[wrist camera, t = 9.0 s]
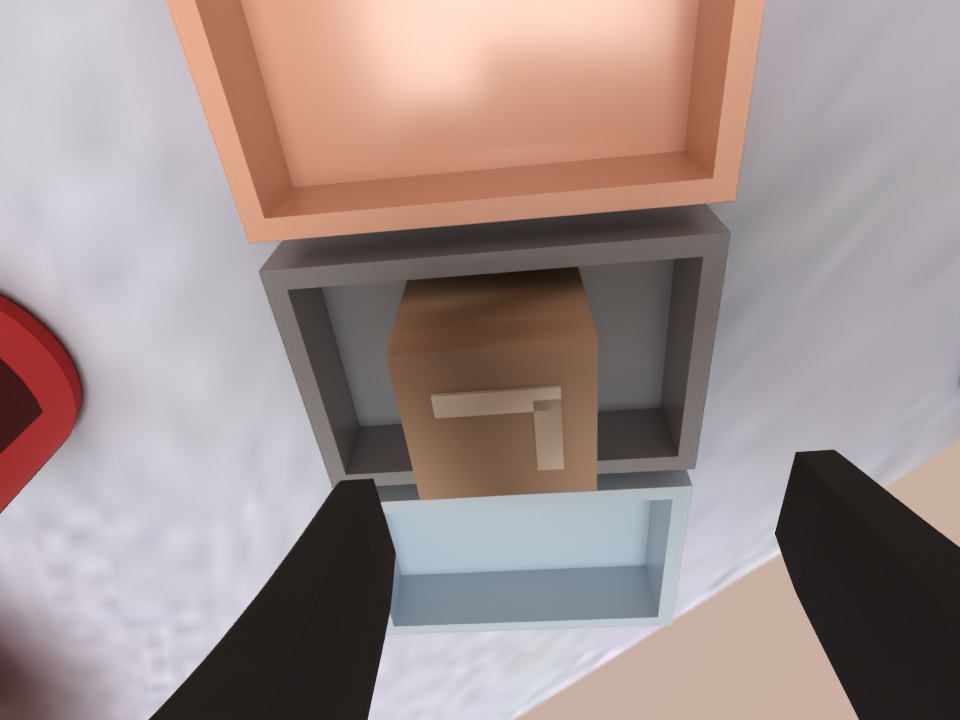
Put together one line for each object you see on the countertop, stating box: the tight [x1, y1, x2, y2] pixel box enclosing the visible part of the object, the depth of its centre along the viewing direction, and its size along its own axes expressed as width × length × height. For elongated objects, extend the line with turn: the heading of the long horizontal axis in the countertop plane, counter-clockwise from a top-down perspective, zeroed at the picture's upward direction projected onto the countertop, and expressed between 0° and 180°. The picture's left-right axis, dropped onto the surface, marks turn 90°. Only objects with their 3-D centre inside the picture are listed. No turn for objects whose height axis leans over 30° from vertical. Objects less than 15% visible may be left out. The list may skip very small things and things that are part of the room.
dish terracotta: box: [166, 0, 765, 243], centre depth 13 cm, size 12×8×3 cm
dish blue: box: [376, 469, 692, 635], centre depth 23 cm, size 12×8×3 cm
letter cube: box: [386, 267, 598, 500], centre depth 17 cm, size 5×5×5 cm
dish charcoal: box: [259, 204, 731, 488], centre depth 18 cm, size 12×8×3 cm
